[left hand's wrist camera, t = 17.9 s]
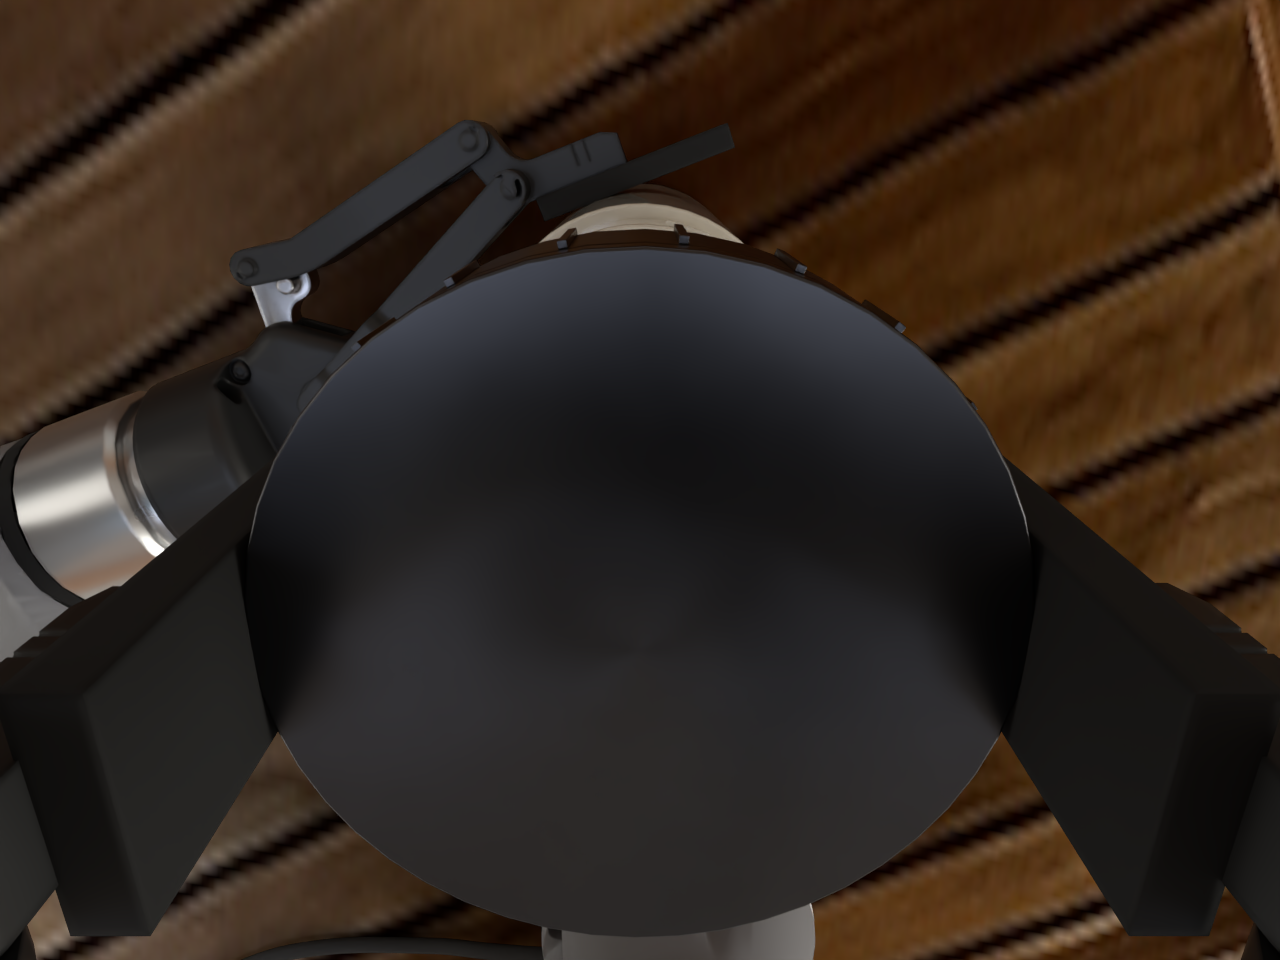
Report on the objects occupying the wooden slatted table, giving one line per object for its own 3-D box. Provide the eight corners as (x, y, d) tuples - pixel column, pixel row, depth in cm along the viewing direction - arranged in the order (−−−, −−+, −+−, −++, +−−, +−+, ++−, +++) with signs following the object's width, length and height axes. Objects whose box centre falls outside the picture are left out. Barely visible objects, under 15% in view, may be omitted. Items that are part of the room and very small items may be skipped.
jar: (702, 406, 38) (738, 559, 24) (521, 351, 37) (447, 476, 23) (767, 219, 35) (853, 268, 21) (572, 155, 34) (523, 161, 20)
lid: (868, 95, 10) (924, 81, 8) (1040, 723, 13) (1112, 824, 11) (172, 386, 11) (72, 437, 9) (484, 895, 14) (458, 1014, 12)
